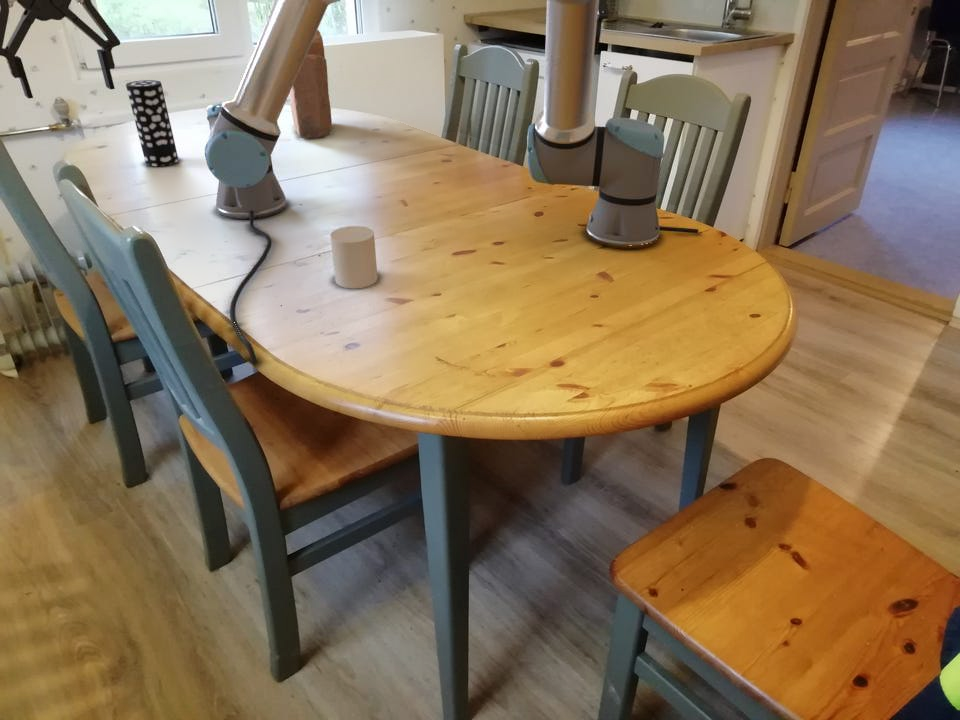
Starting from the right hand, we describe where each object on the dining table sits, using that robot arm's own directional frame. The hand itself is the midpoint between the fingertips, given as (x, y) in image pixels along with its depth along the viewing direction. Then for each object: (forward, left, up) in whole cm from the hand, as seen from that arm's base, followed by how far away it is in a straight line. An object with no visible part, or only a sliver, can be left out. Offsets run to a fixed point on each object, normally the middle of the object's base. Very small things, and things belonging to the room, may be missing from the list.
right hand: (576, 49), depth 158 cm
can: (+63, +34, -32) cm, 78 cm away
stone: (+50, -74, -32) cm, 95 cm away
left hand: (+104, -1, -3) cm, 105 cm away
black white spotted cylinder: (+94, -55, -21) cm, 111 cm away
